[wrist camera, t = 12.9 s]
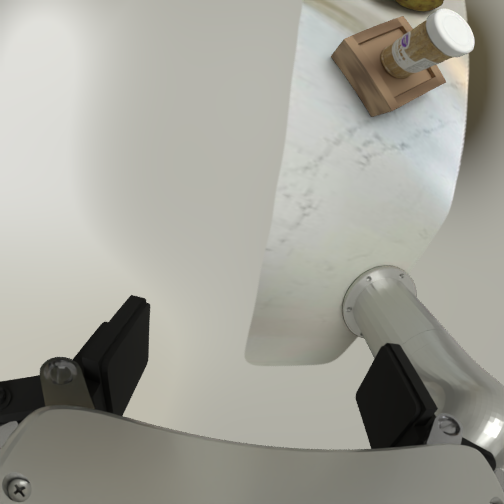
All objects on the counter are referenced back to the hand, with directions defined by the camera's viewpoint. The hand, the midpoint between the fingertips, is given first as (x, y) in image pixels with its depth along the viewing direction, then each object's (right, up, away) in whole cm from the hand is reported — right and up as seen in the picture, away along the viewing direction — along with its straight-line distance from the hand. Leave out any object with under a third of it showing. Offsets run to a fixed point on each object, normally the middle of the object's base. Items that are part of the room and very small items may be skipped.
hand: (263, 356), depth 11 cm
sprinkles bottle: (+17, +27, +16) cm, 36 cm away
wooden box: (+17, +29, +22) cm, 40 cm away
